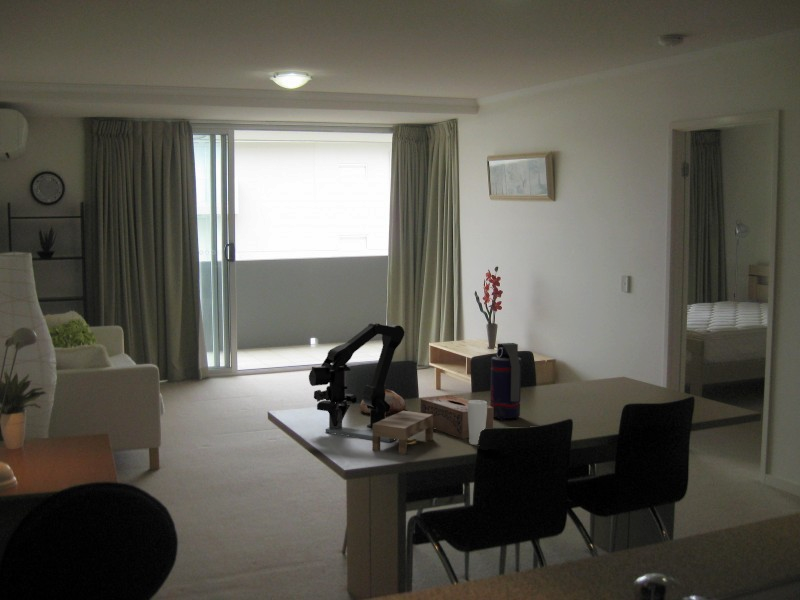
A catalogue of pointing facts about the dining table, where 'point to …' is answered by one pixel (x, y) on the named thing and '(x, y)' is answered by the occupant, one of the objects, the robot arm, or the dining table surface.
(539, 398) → the dining table surface
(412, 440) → the brass token
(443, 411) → the tissue box cover
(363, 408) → the bread
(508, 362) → the grenade
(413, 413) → the wooden footstool
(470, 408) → the drinking glass
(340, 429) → the blade tool
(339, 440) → the dining table surface
